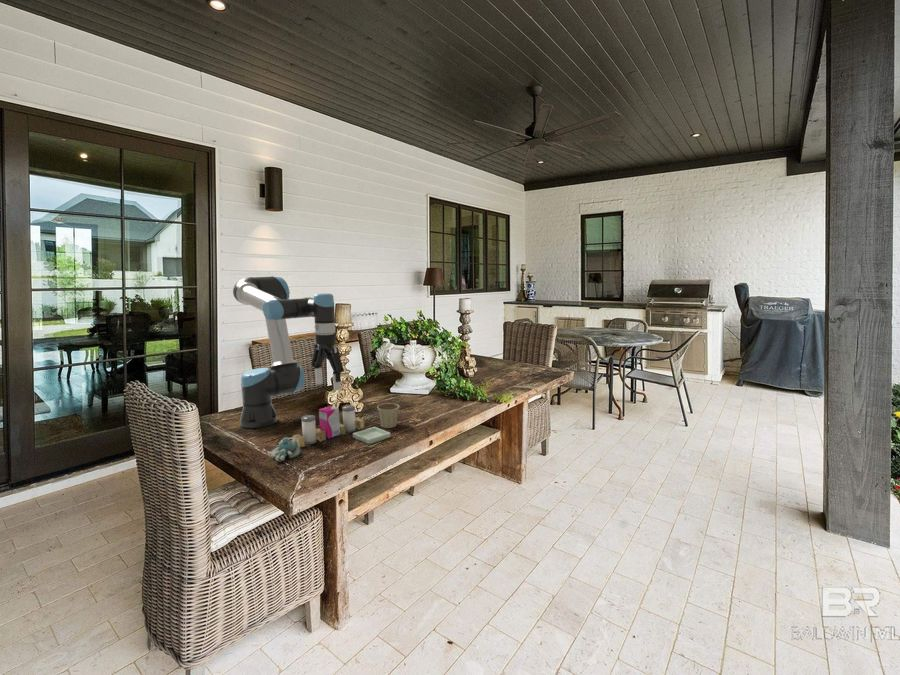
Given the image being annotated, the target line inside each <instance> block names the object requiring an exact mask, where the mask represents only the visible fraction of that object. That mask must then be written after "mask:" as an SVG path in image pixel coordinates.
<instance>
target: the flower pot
mask: <svg viewBox="0 0 900 675" xmlns="http://www.w3.org/2000/svg"><path fill="white" fill-rule="evenodd" d="M376 408H377V410H378V414H379V419H380V426H381V427H382V428H385V429H392V428H394V427H395V428H396V426H397V421H398V412H399V408H400V405H399V404H398V403H392V402H391V403H390V402H389V403H382V404H379V405H377V407H376Z"/></svg>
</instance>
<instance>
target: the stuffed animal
mask: <svg viewBox="0 0 900 675" xmlns="http://www.w3.org/2000/svg"><path fill="white" fill-rule="evenodd" d="M300 454H301V447H300V448H299V446H298V443H297V442H296V439H295V438H293V436H292V437H284V438H282V439H281V440H280V441H279V443H278V446H277V447H276V448H273V449H272V450H270V455H271V457H272V458H273V459H275V460H276V461H277V462H279V461H280V462H281V461H282V462H283V461H284V460H285V458H286V457H287V456H288V458H289V459H290V460H291V459H293V458H294V459H295V458H297V457H298V456H299V455H300Z"/></svg>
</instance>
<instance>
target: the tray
mask: <svg viewBox="0 0 900 675" xmlns="http://www.w3.org/2000/svg"><path fill="white" fill-rule="evenodd" d="M391 434H392V433H391V432H390V431H387V430H384V429H382V428H380V427H376V426H373V427H370V428H366V429H365V428H364V429H361V430H359V431H354V432H352V438H353V439H355V440H358V441H360V442H362V443H364V444H367V445H371V444H374V443H377V442H380V441H381V442H382V441H384V440H386V439H389V438H392V437H391Z"/></svg>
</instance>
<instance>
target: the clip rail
mask: <svg viewBox="0 0 900 675" xmlns="http://www.w3.org/2000/svg"><path fill="white" fill-rule="evenodd" d="M355 424H356V430H360V429H361V430H365V420H364V419H362V418H359V417H355ZM346 434H347V433H346V431H345V425H343V423H340V436H344V435H346ZM292 437H293V438H295V439H296V442H297V443H298V446H299V448H300V449H301V448H304V447H305V444H304V437H303V435H300V434H299V433H296V434H293V435H292ZM316 439H317V440H318V441H320V442H323V441H326V440H327V438H326V434H325V431H324V430H321V429H320V427H318V428H316Z"/></svg>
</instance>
